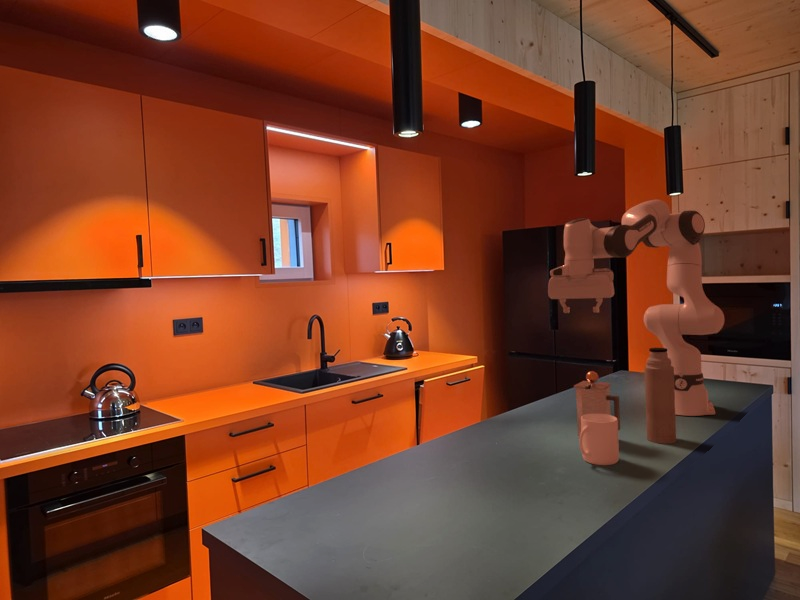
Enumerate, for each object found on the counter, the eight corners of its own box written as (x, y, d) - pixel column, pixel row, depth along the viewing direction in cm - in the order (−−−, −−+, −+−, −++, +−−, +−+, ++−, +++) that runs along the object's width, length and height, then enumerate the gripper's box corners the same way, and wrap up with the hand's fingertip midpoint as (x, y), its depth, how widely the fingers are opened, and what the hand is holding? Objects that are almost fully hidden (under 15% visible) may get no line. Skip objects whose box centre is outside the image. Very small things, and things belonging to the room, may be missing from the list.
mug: (625, 459, 142) (623, 417, 141) (604, 471, 133) (603, 426, 133) (592, 451, 149) (591, 411, 148) (571, 463, 140) (569, 420, 140)
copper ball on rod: (586, 423, 164) (584, 368, 164) (608, 426, 160) (606, 370, 160) (579, 428, 159) (577, 372, 159) (601, 431, 155) (599, 373, 154)
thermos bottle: (671, 435, 160) (668, 346, 159) (679, 443, 152) (677, 349, 151) (643, 435, 161) (640, 346, 160) (650, 443, 153) (647, 350, 152)
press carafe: (584, 433, 166) (582, 380, 166) (623, 439, 159) (622, 383, 158) (575, 440, 159) (572, 385, 159) (615, 447, 152) (613, 389, 151)
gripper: (616, 267, 160) (617, 311, 161) (552, 271, 173) (554, 311, 174) (610, 267, 155) (612, 313, 156) (545, 271, 168) (547, 313, 169)
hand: (581, 312), depth 165 cm, fingers open, 8 cm apart
